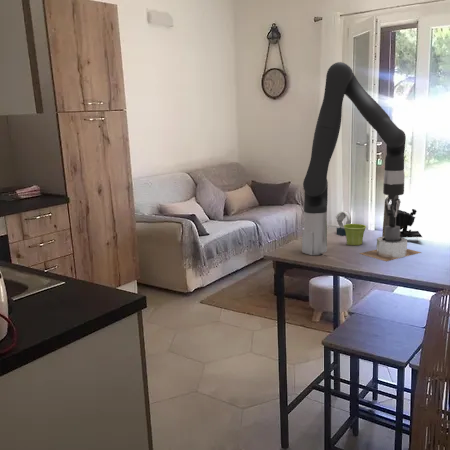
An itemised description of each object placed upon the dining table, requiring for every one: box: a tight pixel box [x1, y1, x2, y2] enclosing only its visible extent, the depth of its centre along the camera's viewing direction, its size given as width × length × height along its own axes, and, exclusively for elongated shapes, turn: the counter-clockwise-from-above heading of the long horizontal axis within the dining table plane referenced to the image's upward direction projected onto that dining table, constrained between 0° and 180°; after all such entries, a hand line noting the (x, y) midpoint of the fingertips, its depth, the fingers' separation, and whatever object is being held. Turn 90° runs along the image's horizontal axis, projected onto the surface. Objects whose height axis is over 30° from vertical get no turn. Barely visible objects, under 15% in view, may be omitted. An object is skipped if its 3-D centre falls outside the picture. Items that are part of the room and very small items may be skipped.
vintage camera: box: [381, 196, 423, 243], centre depth 215 cm, size 10×16×20 cm, turn 78°
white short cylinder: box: [376, 236, 408, 259], centre depth 195 cm, size 11×11×6 cm
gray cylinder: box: [384, 225, 401, 242], centre depth 194 cm, size 6×6×8 cm
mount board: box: [358, 248, 423, 262], centre depth 198 cm, size 20×14×1 cm
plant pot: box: [343, 223, 367, 246], centre depth 213 cm, size 9×9×9 cm
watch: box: [335, 210, 352, 237], centre depth 234 cm, size 6×8×11 cm
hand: (392, 226), depth 193 cm, fingers closed
